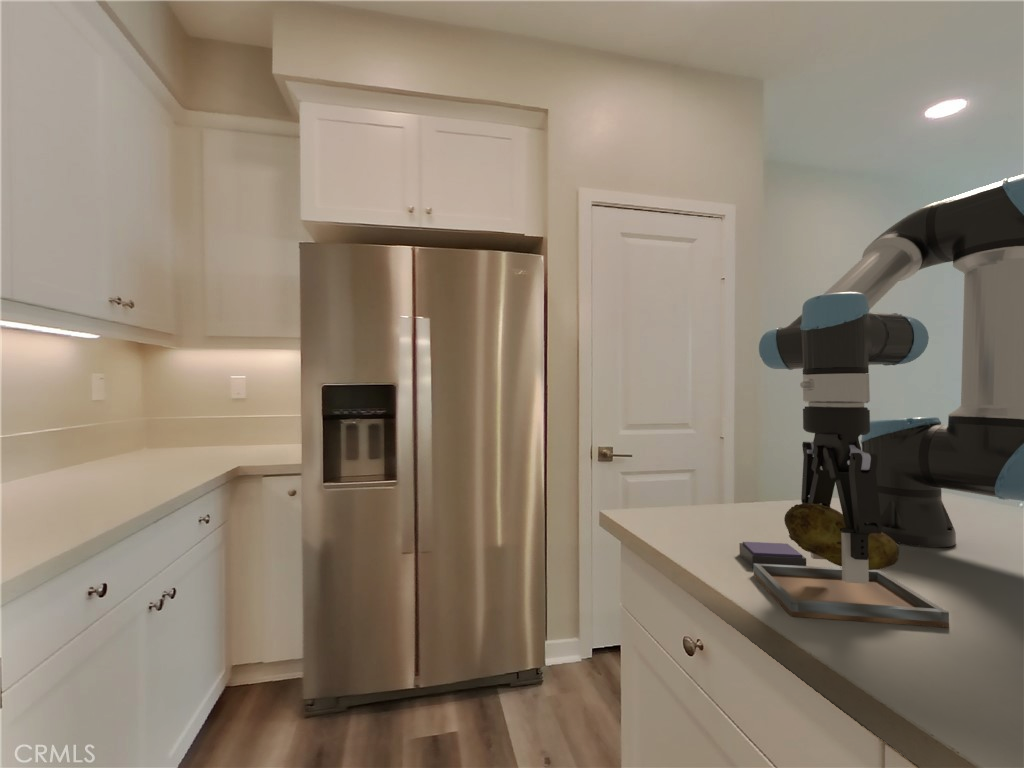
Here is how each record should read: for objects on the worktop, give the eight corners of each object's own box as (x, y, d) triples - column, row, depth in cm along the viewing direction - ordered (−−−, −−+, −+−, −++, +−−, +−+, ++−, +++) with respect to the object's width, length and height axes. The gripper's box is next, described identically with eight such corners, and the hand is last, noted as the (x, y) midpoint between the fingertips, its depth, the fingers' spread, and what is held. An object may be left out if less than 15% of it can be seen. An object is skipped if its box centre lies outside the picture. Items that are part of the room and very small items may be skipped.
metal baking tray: (879, 582, 65) (879, 570, 65) (949, 627, 53) (948, 612, 53) (753, 574, 68) (753, 563, 68) (791, 616, 56) (790, 602, 56)
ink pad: (789, 556, 75) (788, 542, 75) (806, 571, 69) (806, 556, 69) (739, 554, 77) (739, 540, 77) (752, 568, 71) (752, 553, 71)
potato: (907, 587, 53) (906, 521, 53) (783, 563, 60) (782, 506, 61) (896, 564, 60) (895, 506, 60) (786, 546, 67) (785, 494, 67)
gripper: (774, 403, 71) (776, 542, 71) (848, 407, 51) (851, 602, 51) (825, 403, 70) (827, 545, 70) (920, 407, 50) (924, 607, 50)
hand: (837, 569), depth 60 cm, fingers closed on potato, 7 cm apart
